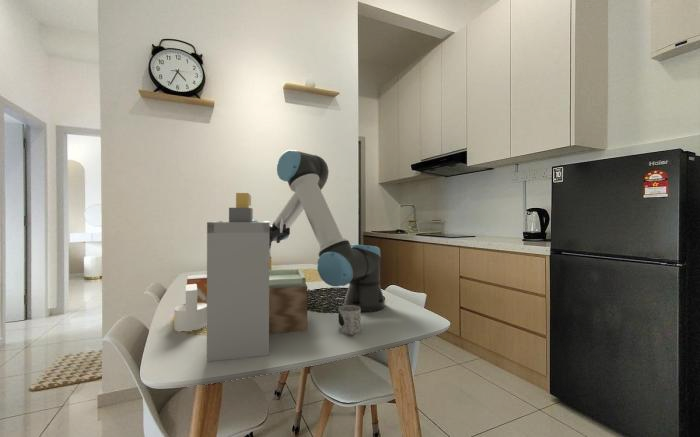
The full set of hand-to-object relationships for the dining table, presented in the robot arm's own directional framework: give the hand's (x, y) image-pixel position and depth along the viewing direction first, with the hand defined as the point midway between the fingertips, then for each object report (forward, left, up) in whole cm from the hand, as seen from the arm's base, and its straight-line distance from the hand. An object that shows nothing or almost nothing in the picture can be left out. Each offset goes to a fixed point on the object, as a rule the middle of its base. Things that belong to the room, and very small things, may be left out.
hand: (262, 220), depth 106 cm
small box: (+21, -4, -32) cm, 39 cm away
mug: (-26, +24, -32) cm, 48 cm away
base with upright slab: (+21, +8, -32) cm, 39 cm away
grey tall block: (+4, +27, -32) cm, 42 cm away
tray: (-7, +11, -19) cm, 23 cm away
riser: (-7, +11, -32) cm, 35 cm away
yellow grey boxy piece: (+5, +22, -2) cm, 22 cm away
